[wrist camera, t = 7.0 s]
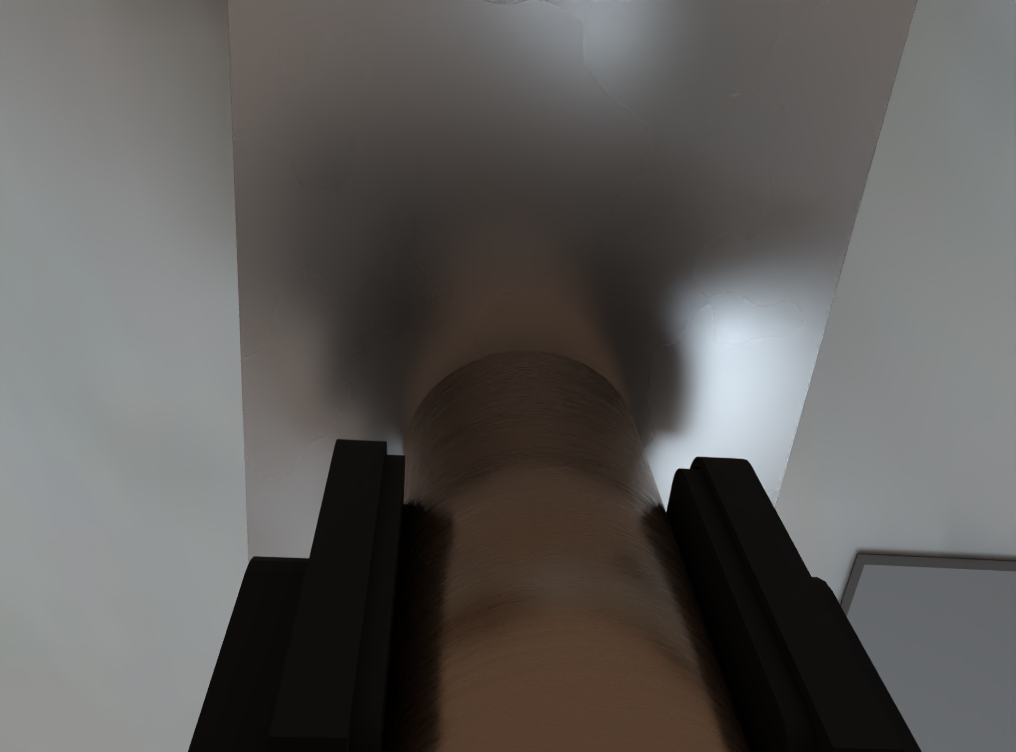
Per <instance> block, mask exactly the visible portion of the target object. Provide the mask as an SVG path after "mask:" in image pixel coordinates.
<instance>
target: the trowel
mask: <svg viewBox="0 0 1016 752" xmlns="http://www.w3.org/2000/svg"><path fill="white" fill-rule="evenodd" d="M916 3H917V0H228V21H229V48H230V75H231V102H232V129H233V156H234V183H235V210H236V237H237V263H238V290H239V317H240V344H241V371H242V398H243V425H244V452H245V479H246V506H247V533H248V560H249V562H250V560H251V559H252V558H253V557H254V556H261V557H288V558H309V556H310V552H311V547H312V543H313V539H314V534H315V530H316V525H317V521H318V517H319V512H320V508H321V503H322V499H323V495H324V490H325V486H326V481H327V477H328V473H329V468H330V464H331V459H332V455H333V451H334V446H335V442H336V440H337V439H348V440H369V441H387V455H405V483H404V505H403V517H402V528H401V539H400V551H399V562H398V574H397V585H396V596H395V608H394V619H393V631H392V642H391V653H390V665H389V676H388V688H387V699H386V710H385V722H384V733H383V745H382V752H750V749H749V747H748V744H747V741H746V738H745V735H744V732H743V730H742V727H741V724H740V721H739V718H738V715H737V712H736V710H735V707H734V704H733V701H732V698H731V695H730V693H729V690H728V687H727V684H726V681H725V678H724V676H723V673H722V670H721V667H720V664H719V661H718V658H717V656H716V653H715V650H714V647H713V644H712V641H711V639H710V636H709V633H708V630H707V627H706V624H705V622H704V619H703V616H702V613H701V610H700V607H699V604H698V602H697V599H696V596H695V593H694V590H693V587H692V585H691V582H690V579H689V576H688V573H687V570H686V568H685V565H684V562H683V559H682V556H681V553H680V550H679V548H678V545H677V542H676V539H675V536H674V533H673V531H672V528H671V525H670V522H669V519H668V516H667V514H666V511H667V506H668V501H669V496H670V491H671V486H672V481H673V477H674V474H675V472H676V470H677V469H679V468H683V469H690V466H691V464H692V462H693V460H694V459H695V458H696V457H697V456H698V457H718V458H738V459H746V460H748V461H749V463H750V464H751V465H752V467H753V469H754V471H755V473H756V475H757V476H758V478H759V480H760V482H761V484H762V486H763V488H764V489H765V491H766V493H767V495H768V497H769V499H770V501H771V503H772V504H773V506H774V508H775V505H776V502H777V498H778V495H779V491H780V487H781V484H782V480H783V477H784V473H785V470H786V466H787V462H788V459H789V455H790V452H791V448H792V445H793V441H794V437H795V434H796V430H797V427H798V423H799V420H800V416H801V413H802V409H803V405H804V402H805V398H806V395H807V391H808V388H809V384H810V380H811V377H812V373H813V370H814V366H815V363H816V359H817V356H818V352H819V348H820V345H821V341H822V338H823V334H824V331H825V327H826V323H827V320H828V316H829V313H830V309H831V306H832V302H833V298H834V295H835V291H836V288H837V284H838V281H839V277H840V274H841V270H842V266H843V263H844V259H845V256H846V252H847V249H848V245H849V241H850V238H851V234H852V231H853V227H854V224H855V220H856V217H857V213H858V209H859V206H860V202H861V199H862V195H863V192H864V188H865V184H866V181H867V177H868V174H869V170H870V167H871V163H872V159H873V156H874V152H875V149H876V145H877V142H878V138H879V135H880V131H881V127H882V124H883V120H884V117H885V113H886V110H887V106H888V102H889V99H890V95H891V92H892V88H893V85H894V81H895V78H896V74H897V70H898V67H899V63H900V60H901V56H902V53H903V49H904V45H905V42H906V38H907V35H908V31H909V28H910V24H911V20H912V17H913V13H914V10H915V6H916Z"/></svg>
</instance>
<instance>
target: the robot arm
mask: <svg viewBox="0 0 1016 752" xmlns="http://www.w3.org/2000/svg"><path fill="white" fill-rule="evenodd" d="M404 483H405V455H387V441H369V440H348V439H337V440H336V442H335V446H334V451H333V455H332V459H331V464H330V468H329V473H328V477H327V481H326V486H325V490H324V495H323V499H322V503H321V508H320V512H319V517H318V521H317V525H316V530H315V534H314V539H313V543H312V547H311V552H310V556H309V558H288V557H261V556H254V557H253V558H252V559H251V560H250V562H249V564H248V567H247V569H246V572H245V575H244V578H243V581H242V584H241V587H240V591H239V594H238V597H237V600H236V603H235V606H234V609H233V612H232V616H231V619H230V622H229V625H228V628H227V631H226V634H225V638H224V641H223V644H222V647H221V650H220V653H219V656H218V659H217V663H216V666H215V669H214V672H213V675H212V678H211V681H210V684H209V688H208V691H207V694H206V697H205V700H204V703H203V706H202V710H201V713H200V716H199V719H198V722H197V725H196V728H195V731H194V735H193V738H192V741H191V744H190V747H189V750H188V752H382V745H383V733H384V722H385V710H386V699H387V688H388V676H389V665H390V653H391V642H392V631H393V619H394V608H395V596H396V585H397V574H398V562H399V551H400V539H401V528H402V517H403V505H404ZM666 514H667V516H668V519H669V522H670V525H671V528H672V531H673V533H674V536H675V539H676V542H677V545H678V548H679V550H680V553H681V556H682V559H683V562H684V565H685V568H686V570H687V573H688V576H689V579H690V582H691V585H692V587H693V590H694V593H695V596H696V599H697V602H698V604H699V607H700V610H701V613H702V616H703V619H704V622H705V624H706V627H707V630H708V633H709V636H710V639H711V641H712V644H713V647H714V650H715V653H716V656H717V658H718V661H719V664H720V667H721V670H722V673H723V676H724V678H725V681H726V684H727V687H728V690H729V693H730V695H731V698H732V701H733V704H734V707H735V710H736V712H737V715H738V718H739V721H740V724H741V727H742V730H743V732H744V735H745V738H746V741H747V744H748V747H749V749H750V752H922V751H921V749H920V747H919V746H918V744H917V742H916V740H915V738H914V737H913V735H912V733H911V731H910V729H909V728H908V726H907V724H906V722H905V720H904V719H903V717H902V715H901V713H900V711H899V710H898V708H897V706H896V704H895V703H894V701H893V699H892V697H891V695H890V694H889V692H888V690H887V688H886V686H885V685H884V683H883V681H882V679H881V677H880V676H879V674H878V672H877V670H876V668H875V667H874V665H873V663H872V661H871V659H870V658H869V656H868V654H867V652H866V650H865V649H864V647H863V645H862V643H861V641H860V640H859V638H858V636H857V634H856V632H855V631H854V629H853V627H852V625H851V624H850V622H849V620H848V618H847V616H846V615H845V613H844V611H843V609H842V607H841V606H840V604H839V602H838V600H837V598H836V597H835V595H834V593H833V591H832V590H831V589H830V587H829V586H828V585H827V583H826V582H825V581H823V580H821V579H819V578H818V577H811V575H810V573H809V571H808V570H807V568H806V566H805V564H804V562H803V560H802V558H801V557H800V555H799V553H798V551H797V549H796V547H795V545H794V543H793V542H792V540H791V538H790V536H789V534H788V532H787V530H786V529H785V527H784V525H783V523H782V521H781V519H780V517H779V516H778V514H777V512H776V510H775V508H774V506H773V504H772V503H771V501H770V499H769V497H768V495H767V493H766V491H765V489H764V488H763V486H762V484H761V482H760V480H759V478H758V476H757V475H756V473H755V471H754V469H753V467H752V465H751V464H750V463H749V461H748V460H746V459H738V458H718V457H698V456H697V457H696V458H695V459H694V460H693V462H692V464H691V466H690V469H683V468H679V469H677V470H676V472H675V474H674V477H673V481H672V486H671V491H670V496H669V501H668V506H667V511H666Z"/></svg>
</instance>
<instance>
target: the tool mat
mask: <svg viewBox="0 0 1016 752" xmlns="http://www.w3.org/2000/svg"><path fill="white" fill-rule="evenodd" d="M841 607H842V609H843V611H844V613H845V615H846V616H847V618H848V620H849V622H850V624H851V625H852V627H853V629H854V631H855V632H856V634H857V636H858V638H859V640H860V641H861V643H862V645H863V647H864V649H865V650H866V652H867V654H868V656H869V658H870V659H871V661H872V663H873V665H874V667H875V668H876V670H877V672H878V674H879V676H880V677H881V679H882V681H883V683H884V685H885V686H886V688H887V690H888V692H889V694H890V695H891V697H892V699H893V701H894V703H895V704H896V706H897V708H898V710H899V711H900V713H901V715H902V717H903V719H904V720H905V722H906V724H907V726H908V728H909V729H910V731H911V733H912V735H913V737H914V738H915V740H916V742H917V744H918V746H919V747H920V749H921V751H922V752H1016V561H994V560H973V559H951V558H930V557H909V556H887V555H866V554H858V556H857V559H856V562H855V564H854V567H853V570H852V573H851V576H850V579H849V582H848V585H847V588H846V591H845V594H844V597H843V600H842V603H841Z"/></svg>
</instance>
